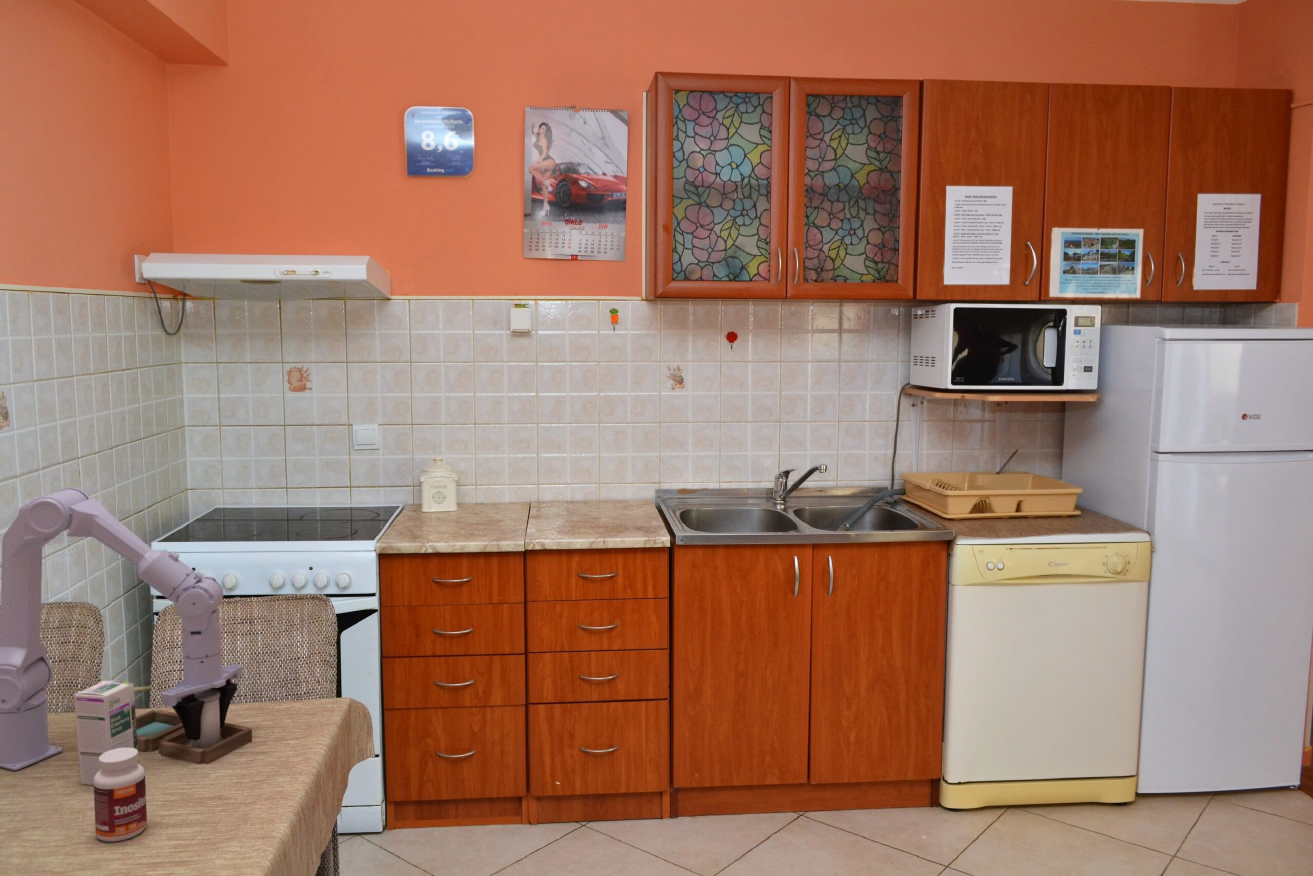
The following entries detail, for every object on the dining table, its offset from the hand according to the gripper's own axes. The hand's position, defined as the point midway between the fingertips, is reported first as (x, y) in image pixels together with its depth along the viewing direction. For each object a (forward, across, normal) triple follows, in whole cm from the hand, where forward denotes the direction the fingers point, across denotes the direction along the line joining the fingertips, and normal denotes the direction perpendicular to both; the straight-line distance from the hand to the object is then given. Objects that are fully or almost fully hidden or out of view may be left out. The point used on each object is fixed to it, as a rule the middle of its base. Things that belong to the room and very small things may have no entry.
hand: (205, 733), depth 158 cm
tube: (+2, 0, 0) cm, 2 cm away
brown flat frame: (+2, 0, +6) cm, 6 cm away
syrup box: (+3, -14, +5) cm, 15 cm away
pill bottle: (+3, -25, -11) cm, 27 cm away
